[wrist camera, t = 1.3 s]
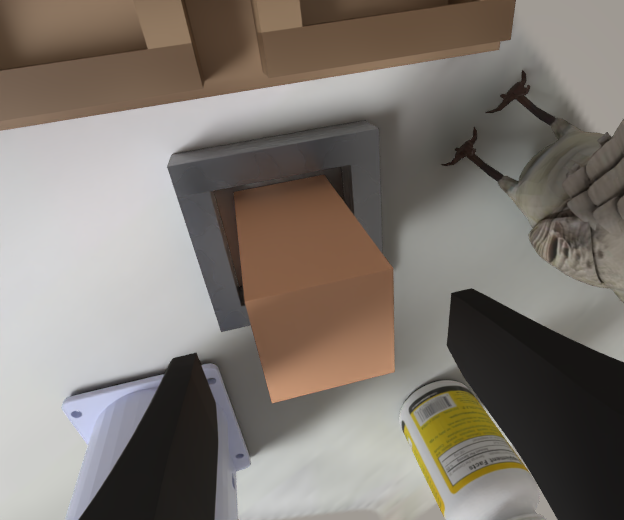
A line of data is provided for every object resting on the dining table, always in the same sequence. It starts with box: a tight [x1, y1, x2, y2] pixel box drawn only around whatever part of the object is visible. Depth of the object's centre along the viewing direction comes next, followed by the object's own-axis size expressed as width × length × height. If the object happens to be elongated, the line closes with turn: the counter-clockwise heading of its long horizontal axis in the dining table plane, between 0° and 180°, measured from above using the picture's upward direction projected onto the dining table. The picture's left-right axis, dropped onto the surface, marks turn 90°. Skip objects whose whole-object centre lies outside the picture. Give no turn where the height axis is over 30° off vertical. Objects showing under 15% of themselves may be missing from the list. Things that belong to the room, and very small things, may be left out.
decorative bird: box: [441, 70, 624, 303], centre depth 17 cm, size 5×16×7 cm, turn 52°
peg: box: [234, 175, 395, 403], centre depth 15 cm, size 4×4×8 cm
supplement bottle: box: [399, 380, 546, 520], centre depth 23 cm, size 5×5×10 cm
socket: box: [167, 120, 383, 332], centre depth 17 cm, size 8×8×2 cm
